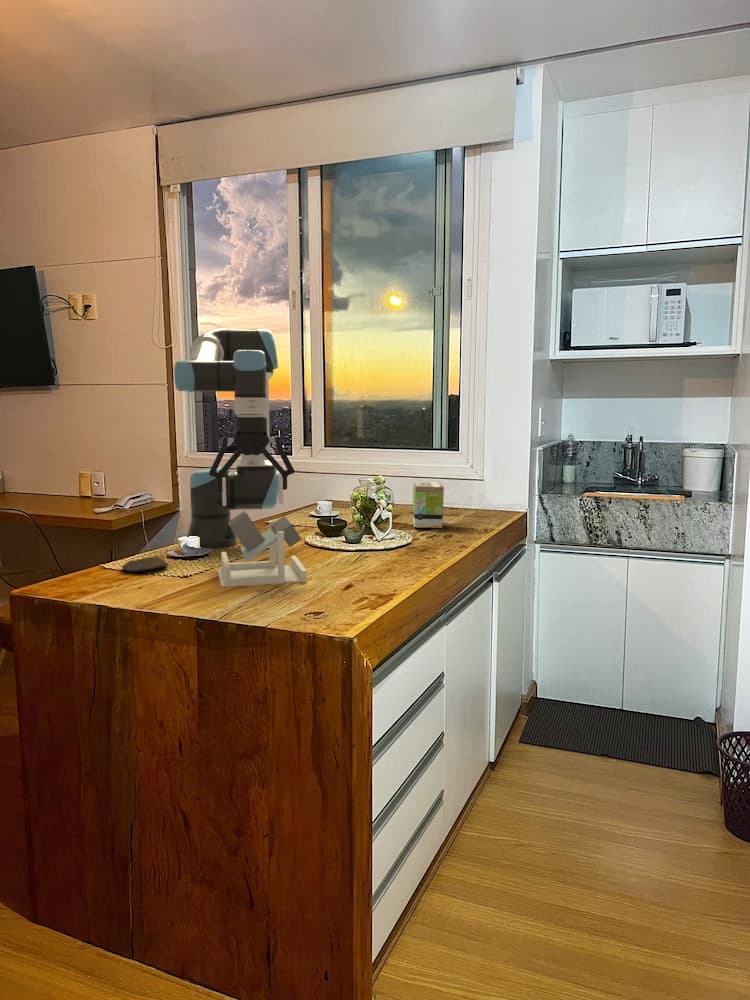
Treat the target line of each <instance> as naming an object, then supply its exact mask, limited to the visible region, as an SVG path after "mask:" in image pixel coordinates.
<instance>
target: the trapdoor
mask: <svg viewBox="0 0 750 1000" xmlns="http://www.w3.org/2000/svg"><path fill="white" fill-rule="evenodd" d="M273 525H274V526H275V527H276V531H277V532H280V531H283V532H284V543H286V545H287V546H288V547H289V548H291V547H293V546H294V545H295V544H296V545H297V543H299V542H300V541H301V540H303V538H302V537H301V536H300V534H299V532H298V531H297V530H296V528H295V527H294V525H293V524H292V523H291V522H290V520H289V519H288V518H287V517H286V516H285V515H283V516H282V517H280V518H278V520H275V522H274V523H273ZM261 535H262V536H263V538H264V539H265V541H264V542H262V543H261V544H259V545H258V546H256V547H255V548H254V549H252V550H251V551H249V552H248V551H247V550H246V549H245V547H244V546H243V545H242V547H241V548H240V550H241V551H240V552H241V553H242V556H243V558H244V560H245V562H249V560H251V559H253V558H254V557H255V556H257V555H259V554H260V553H262V552H263V551H264V550H266V549H268V548H269V546H270V545H272V544H273V543H275V542H276V543H277V535H276V536H275V534H274V533H273V531H272V530H271V529H269V528H268V529H267V530H265V531H263V533H261Z"/></svg>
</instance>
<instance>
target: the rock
mask: <svg viewBox="0 0 750 1000" xmlns="http://www.w3.org/2000/svg"><path fill="white" fill-rule="evenodd" d="M168 566H169V563H168V562H166V561H165V560H164V558H162V557H159V556H157V555H156V556H151V557H150V556H148V557H142V558H139V559H135V560H134V559H133V560H130V561H127V562H126V563H125V564H123V565H121V568H122V569H123V570H125V571H128V572H141V571H150V570H154V569H159V568H162V569H163V568H167V567H168Z"/></svg>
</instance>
